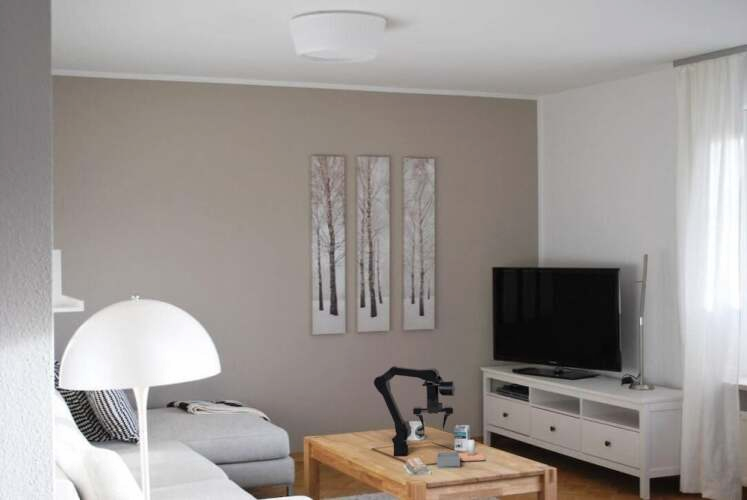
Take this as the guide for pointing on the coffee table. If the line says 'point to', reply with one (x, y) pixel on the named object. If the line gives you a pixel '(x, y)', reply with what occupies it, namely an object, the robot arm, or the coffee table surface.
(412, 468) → the packaged product
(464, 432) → the light bulb box
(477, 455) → the lid
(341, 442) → the coffee table surface
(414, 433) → the mug
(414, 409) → the robot arm
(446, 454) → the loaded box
